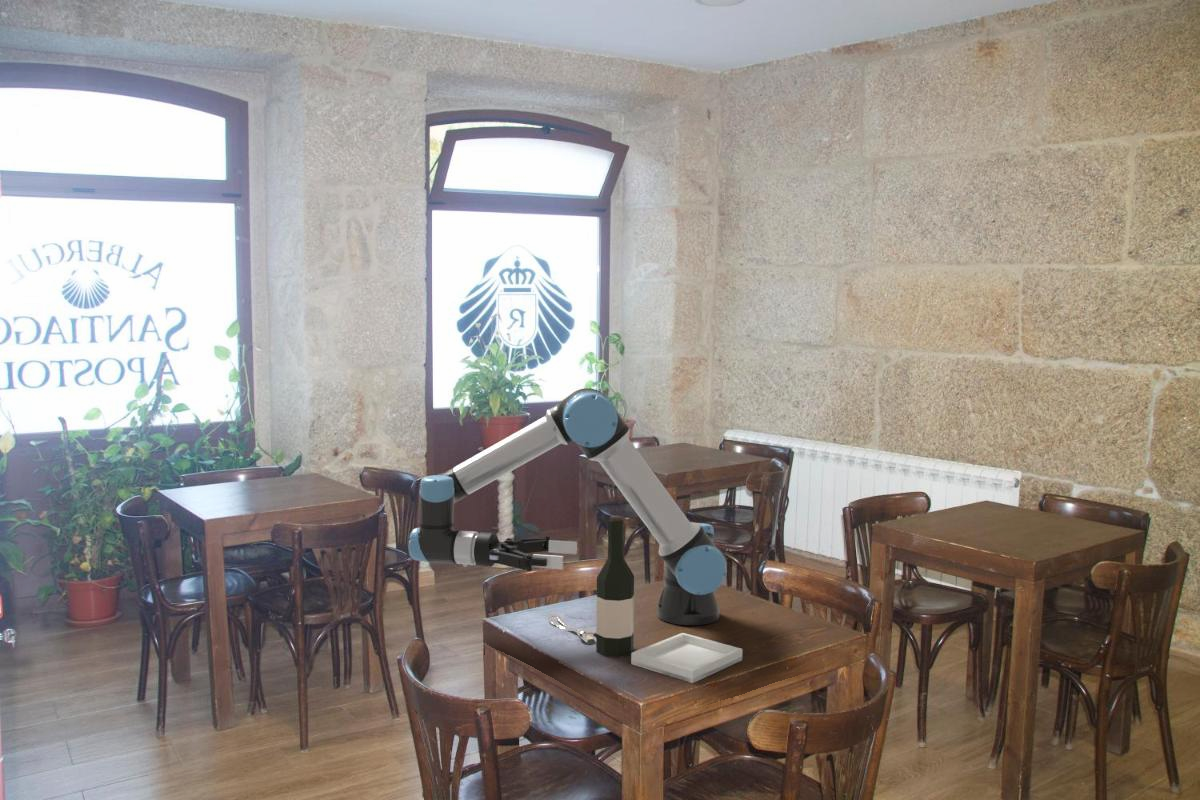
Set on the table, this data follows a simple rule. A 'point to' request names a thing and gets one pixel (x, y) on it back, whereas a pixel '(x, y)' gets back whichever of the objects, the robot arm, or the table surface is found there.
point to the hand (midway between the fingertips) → (570, 555)
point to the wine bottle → (615, 598)
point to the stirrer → (583, 633)
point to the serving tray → (686, 657)
